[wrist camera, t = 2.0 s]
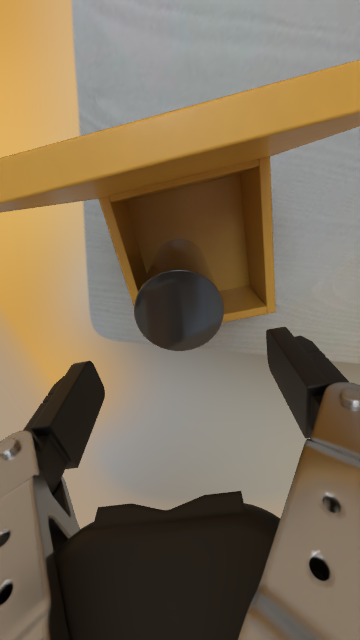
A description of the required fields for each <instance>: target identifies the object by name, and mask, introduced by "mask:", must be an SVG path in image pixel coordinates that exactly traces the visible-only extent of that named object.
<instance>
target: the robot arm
mask: <svg viewBox="0 0 360 640" xmlns="http://www.w3.org/2000/svg"><path fill="white" fill-rule="evenodd" d="M266 339H267V356H268V364H269V368H270V371H271V373H272V375H273V377H274V379H275V381H276V383H277V384H278V387H279V389H280V391H281V392H282V394H283V396H284V398H285V400H286V402H287V404H288V406H289V408H290V410H291V412H292V414H293V416H294V417H295V419H296V421H297V423H298V425H299V427H300V429H301V431H302V433H303V435H304V437H305V438H310V439H307V440H306V442H305V444H304V447H303V450H302V453H301V456H300V459H299V463H298V466H297V469H296V472H295V475H294V478H293V482H292V485H291V488H290V491H289V494H288V497H287V500H286V503H285V507H284V510H283V513H282V516H281V519H280V518H278V517H277V516H275V515H274V514H272V513H270V512H268V511H266V510H264V509H262V508H259V507H256V506H254V505H250V504H245V503H243V498H242V494H241V491H237V492H228V493H219V494H211V495H204V496H201V497H199V498H197V499H194V500H192V501H190V502H187V503H185V504H182V505H180V506H178V507H175V508H173V509H171V510H159V509H155V508H150V507H145V506H141V505H136V504H123V505H115V506H106V507H98V510H97V513H96V517H95V521H94V522H92V523H90V524H89V525H87V526H85V527H84V528H82V529H81V530H80V528H79V525H78V523H77V520H76V517H75V513H74V510H73V506H72V503H71V500H70V496H69V492H68V489H67V486H66V482H65V480H64V478H63V477H62V475H63V473H64V470H65V469H70V468H78V465H79V463H80V460H81V458H82V455H83V453H84V450H85V447H86V445H87V442H88V440H89V437H90V434H91V432H92V429H93V427H94V424H95V421H96V418H97V416H98V414H99V411H100V408H101V406H102V403H103V400H104V397H105V390H104V386H103V384H102V382H101V380H100V378H99V375H98V373H97V371H96V369H95V367H94V364H93V363H92V362H91V361H87V362H81V363H75V364H73V365H72V366H71V367H70V369H69V370H68V372H67V373H66V375H65V376H63V377H62V378H61V379H60V380H59V381H58V382H57V383H56V384H54V386H53V387H52V389H51V390H50V392H49V393H48V396H46V398H45V399H44V401H43V403H42V404H41V405H40V406H39V408H38V409H37V411H36V412H35V414H34V415H33V417H32V418H31V419H30V421H29V423H28V424H27V425H26V427H25V428H24V430H23V431H19V432H16V433H13V434H12V435H10V436H8V437H6V438H5V439H3V440H2V441H1V442H0V640H360V385H358V384H355V383H350V382H349V381H348V380H347V379H346V378H345V377H344V376H343V375H342V374H341V373H340V371H339V370H338V369H337V368H336V367H335V366H334V365H333V364H332V363H331V362H330V361H329V359H328V358H326V357H325V355H324V354H323V353H322V352H321V351H319V349H318V347H317V346H316V345H315V344H314V343H313V342H312V341H310V340H308V339H306V338H304V337H302V336H297V337H294V336H293V335H292V334H291V333H290V331H289V330H288V329H287V328H286V327H280V328H275V329H269V330H267V331H266Z"/></svg>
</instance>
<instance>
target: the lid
mask: <svg viewBox="0 0 360 640" xmlns="http://www.w3.org/2000/svg"><path fill="white" fill-rule="evenodd" d="M359 126H360V60H356V61H353V62H349V63H345V64H342V65H338V66H335V67H331V68H327V69H324V70H320V71H316V72H313V73H309V74H305V75H302V76H298V77H294V78H291V79H287V80H283V81H280V82H276V83H273V84H269V85H265V86H262V87H258V88H254V89H251V90H247V91H243V92H240V93H236V94H232V95H229V96H225V97H221V98H218V99H214V100H211V101H207V102H203V103H200V104H196V105H192V106H189V107H185V108H181V109H178V110H174V111H170V112H167V113H163V114H159V115H156V116H152V117H149V118H145V119H141V120H138V121H134V122H130V123H127V124H123V125H119V126H116V127H112V128H108V129H105V130H101V131H97V132H94V133H90V134H87V135H83V136H79V137H76V138H73V139H68V140H65V141H61V142H57V143H54V144H50V145H46V146H43V147H39V148H36V149H32V150H28V151H25V152H21V153H18V154H14V155H10V156H6V157H3V158H0V212H6V211H13V210H21V209H27V208H35V207H42V206H49V205H56V204H63V203H70V202H77V201H85V200H92V199H98V198H102V197H106V196H110V195H114V194H118V193H123V192H127V191H131V190H135V189H139V188H143V187H147V186H151V185H155V184H159V183H163V182H167V181H171V180H175V179H179V178H183V177H188V176H192V175H196V174H200V173H204V172H208V171H212V170H216V169H220V168H224V167H228V166H232V165H236V164H240V163H244V162H248V161H253V160H257V159H261V158H265V157H269V156H273V155H276V154H279V153H281V152H284V151H287V150H290V149H293V148H296V147H299V146H302V145H305V144H308V143H311V142H314V141H317V140H320V139H323V138H326V137H329V136H332V135H335V134H338V133H341V132H344V131H347V130H350V129H353V128H356V127H359Z"/></svg>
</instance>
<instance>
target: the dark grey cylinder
mask: <svg viewBox="0 0 360 640" xmlns="http://www.w3.org/2000/svg"><path fill="white" fill-rule="evenodd" d="M134 315H135V320H136V323H137V325H138V327H139V329H140V331H141V332H142V334H143V335H144V336H145V337H146V338H147V339H148V340H149V341H151V342H152V343H153V344H155V345H157V346H159V347H161V348H164V349H168V350H174V351H184V350H191V349H194V348H197V347H199V346H201V345H203V344H205V343H206V342H208V341H209V340H210V339H211V338H212V337H213V336H214V335H215V334H216V333H217V331H218V330H219V328H220V326H221V323H222V321H223V316H224V304H223V300H222V297H221V294H220V292H219V289H218V287H217V285H216V282H215V280H214V277H213V275H212V273H211V270H210V268H209V265H208V263H207V261H206V258H205V256H204V254H203V252H202V250H201V249H200V248H199V247H198V246H197V245H196V244H195V243H193V242H191V241H189V240H185V239H173V240H170V241H168V242H166V243H164V244H163V245H162V246H161V247H160V248H159V249H158V250H157V252H156V254H155V256H154V258H153V260H152V263H151V265H150V267H149V269H148V272H147V274H146V276H145V278H144V281H143V283H142V285H141V288H140V290H139V292H138V294H137V297H136V300H135V305H134Z"/></svg>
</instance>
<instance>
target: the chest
mask: <svg viewBox="0 0 360 640" xmlns="http://www.w3.org/2000/svg"><path fill="white" fill-rule="evenodd" d="M99 201H100V204H101V207H102V211H103V214H104V217H105V220H106V223H107V226H108V229H109V232H110V235H111V238H112V241H113V244H114V247H115V250H116V253H117V256H118V260H119V263H120V266H121V269H122V272H123V275H124V278H125V281H126V284H127V287H128V290H129V293H130V296H131V299H132V302H133V305H135V300H136V297H137V294H138V292H139V290H140V288H141V285H142V283H143V281H144V278H145V276H146V274H147V272H148V269H149V267H150V265H151V263H152V260H153V258H154V256H155V254H156V252H157V250H158V249H159V248H160V247H161V246H162V245H163V244H164V243H166V242H168V241H170V240H173V239H185V240H189V241H191V242H193V243H195V244H196V245H197V246H198V247H199V248H200V249H201V250H202V252H203V254H204V256H205V258H206V261H207V263H208V265H209V268H210V270H211V273H212V275H213V277H214V280H215V282H216V285H217V287H218V289H219V292H220V294H221V297H222V300H223V304H224V316H223V321H222V322H226V321H231V320H237V319H242V318H248V317H253V316H258V315H264V314H268V313H274V312H275V283H274V255H273V227H272V199H271V171H270V156H269V157H265V158H261V159H257V160H253V161H248V162H244V163H240V164H236V165H232V166H228V167H224V168H220V169H216V170H212V171H208V172H204V173H200V174H196V175H192V176H188V177H183V178H179V179H175V180H171V181H167V182H163V183H159V184H155V185H151V186H147V187H143V188H139V189H135V190H131V191H127V192H123V193H118V194H114V195H110V196H106V197H102V198H99ZM143 336H144V335H143ZM144 337H145V336H144Z"/></svg>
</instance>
